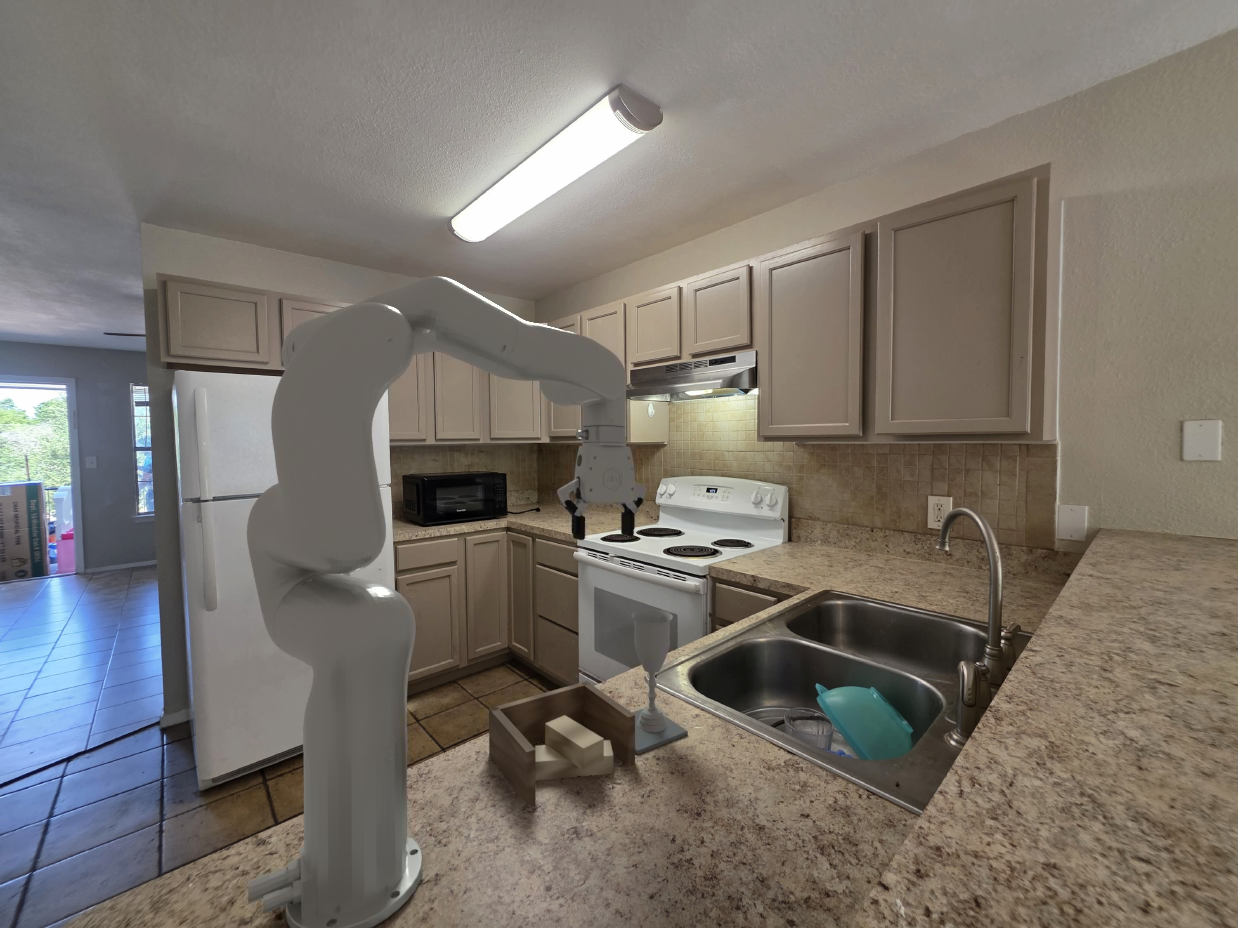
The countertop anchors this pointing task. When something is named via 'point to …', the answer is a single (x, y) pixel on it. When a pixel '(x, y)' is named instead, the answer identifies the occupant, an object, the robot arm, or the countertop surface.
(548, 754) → the offcut lower
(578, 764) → the offcut upper
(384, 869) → the robot arm
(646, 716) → the chalice
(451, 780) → the countertop surface
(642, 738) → the slate tile
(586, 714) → the brown wooden u-shaped frame
